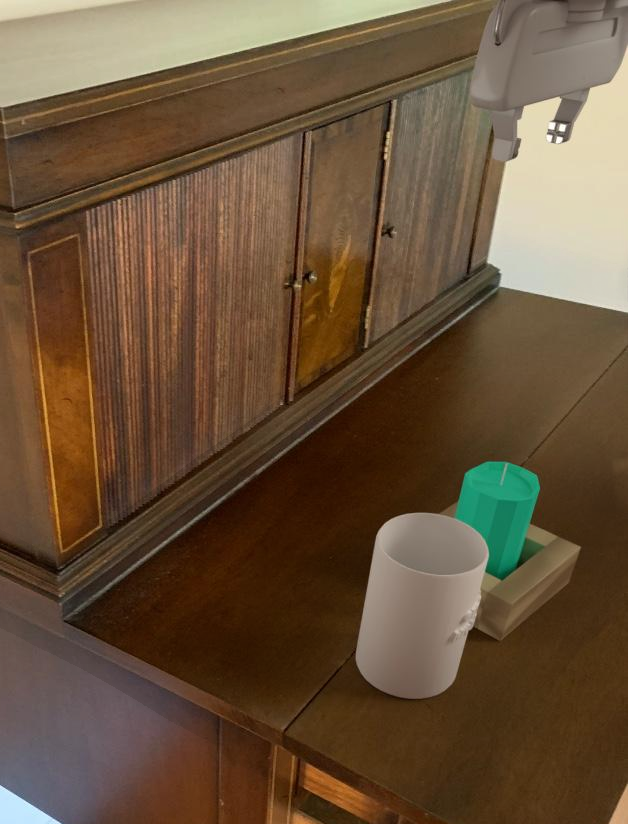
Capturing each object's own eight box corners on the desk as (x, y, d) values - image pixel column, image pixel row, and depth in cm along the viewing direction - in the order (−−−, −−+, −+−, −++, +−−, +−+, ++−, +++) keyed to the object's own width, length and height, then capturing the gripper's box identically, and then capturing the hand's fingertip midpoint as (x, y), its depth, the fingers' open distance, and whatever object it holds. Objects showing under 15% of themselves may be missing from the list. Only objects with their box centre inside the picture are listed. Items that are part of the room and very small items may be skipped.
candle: (493, 557, 85) (525, 442, 77) (521, 597, 80) (558, 480, 73) (431, 562, 84) (457, 448, 76) (456, 604, 80) (487, 486, 72)
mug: (465, 613, 79) (497, 495, 71) (455, 710, 70) (491, 586, 62) (368, 595, 80) (389, 478, 73) (348, 687, 72) (369, 564, 64)
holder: (568, 583, 82) (581, 546, 79) (500, 641, 76) (511, 604, 73) (459, 529, 88) (467, 494, 86) (387, 579, 82) (394, 543, 80)
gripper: (543, -18, 69) (500, 178, 77) (664, -35, 80) (614, 139, 88) (470, -25, 72) (437, 163, 81) (595, -41, 83) (554, 127, 92)
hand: (531, 150), depth 85 cm, fingers open, 8 cm apart
